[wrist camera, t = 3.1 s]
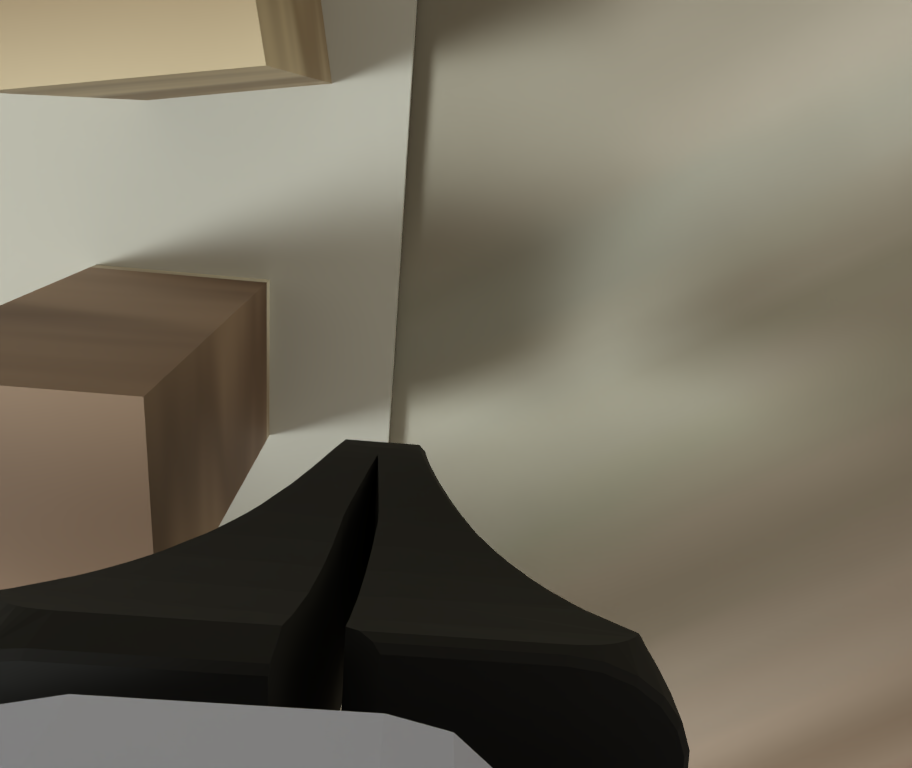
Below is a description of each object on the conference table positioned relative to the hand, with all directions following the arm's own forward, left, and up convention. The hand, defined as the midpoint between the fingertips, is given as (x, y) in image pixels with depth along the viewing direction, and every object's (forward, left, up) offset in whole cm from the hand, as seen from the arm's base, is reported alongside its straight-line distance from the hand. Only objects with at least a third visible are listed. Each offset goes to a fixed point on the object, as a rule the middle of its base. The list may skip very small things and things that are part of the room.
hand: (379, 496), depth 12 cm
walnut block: (0, +5, -6) cm, 8 cm away
